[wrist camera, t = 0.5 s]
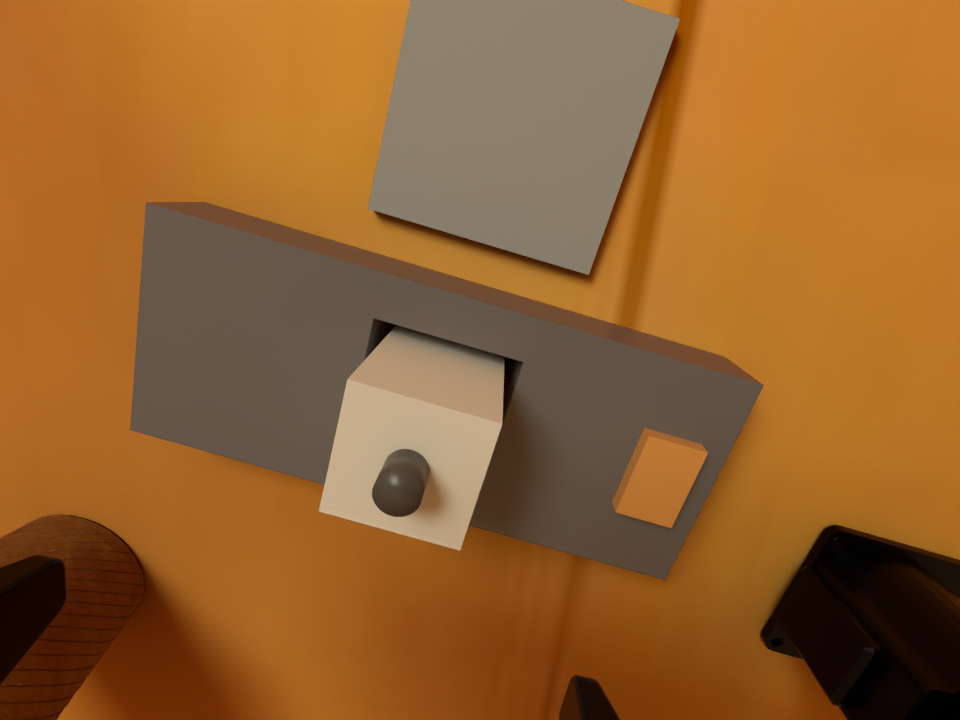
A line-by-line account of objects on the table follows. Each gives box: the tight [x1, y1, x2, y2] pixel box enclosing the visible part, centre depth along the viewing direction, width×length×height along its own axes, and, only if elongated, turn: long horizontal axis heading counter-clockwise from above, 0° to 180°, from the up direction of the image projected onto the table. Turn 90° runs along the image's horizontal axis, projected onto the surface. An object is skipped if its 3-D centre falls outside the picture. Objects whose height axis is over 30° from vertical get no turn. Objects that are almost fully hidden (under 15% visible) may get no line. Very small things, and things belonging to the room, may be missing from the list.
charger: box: [319, 325, 505, 551], centre depth 16 cm, size 4×4×8 cm
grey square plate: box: [368, 0, 680, 275], centre depth 16 cm, size 8×8×1 cm
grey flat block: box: [130, 202, 764, 580], centre depth 18 cm, size 20×8×4 cm, turn 74°
